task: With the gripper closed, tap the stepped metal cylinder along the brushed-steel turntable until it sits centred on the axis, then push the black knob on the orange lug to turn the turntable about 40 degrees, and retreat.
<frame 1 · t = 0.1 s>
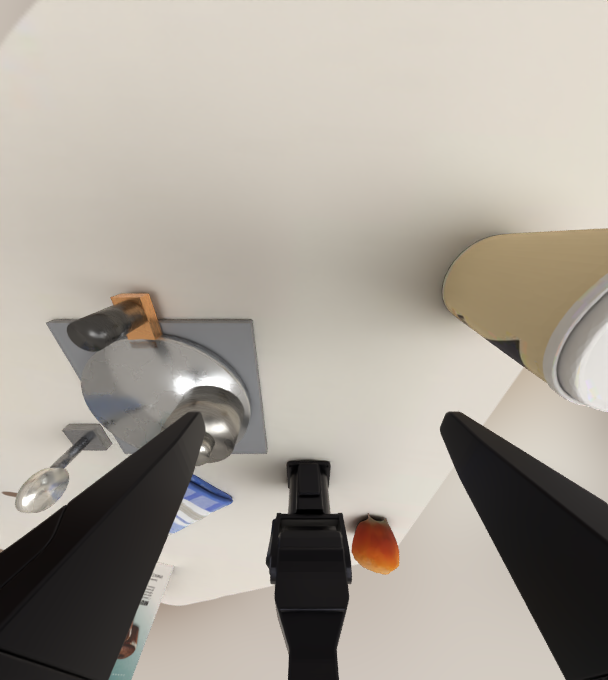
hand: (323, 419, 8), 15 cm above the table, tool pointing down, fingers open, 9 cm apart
turntable: (154, 407, 22), point 4 cm above the table, hinge at 0.0°, touching stepped metal cylinder
plinth: (179, 395, 26), on the table
dish towel: (155, 495, 38), on the table
fruit: (369, 521, 42), on the table
cake mix box: (123, 557, 49), on the table
stepped metal cylinder: (213, 409, 24), point 2 cm above the table, touching turntable
coffee cup: (482, 279, 20), on the table
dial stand: (91, 434, 30), on the table
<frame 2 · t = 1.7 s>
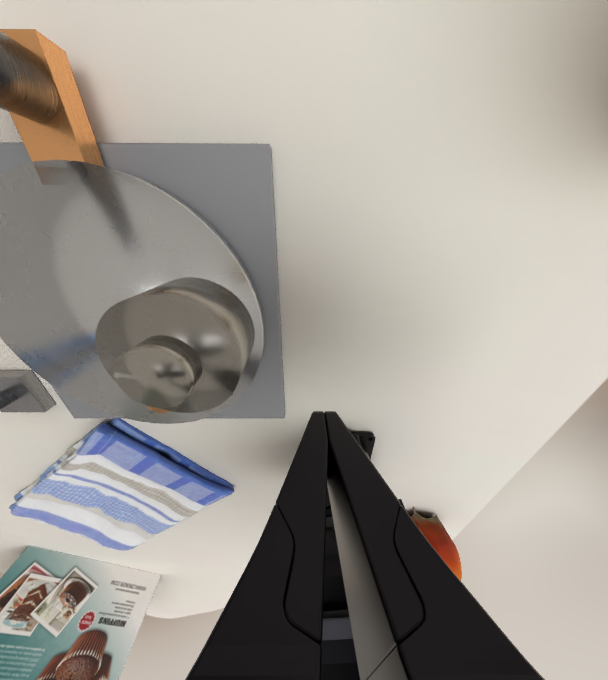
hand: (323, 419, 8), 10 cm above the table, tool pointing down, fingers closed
turntable: (94, 310, 12), point 4 cm above the table, hinge at 0.0°, touching stepped metal cylinder
plinth: (150, 317, 17), on the table
dish towel: (130, 484, 28), on the table
fruit: (412, 518, 32), on the table
cake mix box: (97, 565, 40), on the table
stepped metal cylinder: (202, 329, 15), point 2 cm above the table, touching turntable
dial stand: (22, 387, 20), on the table
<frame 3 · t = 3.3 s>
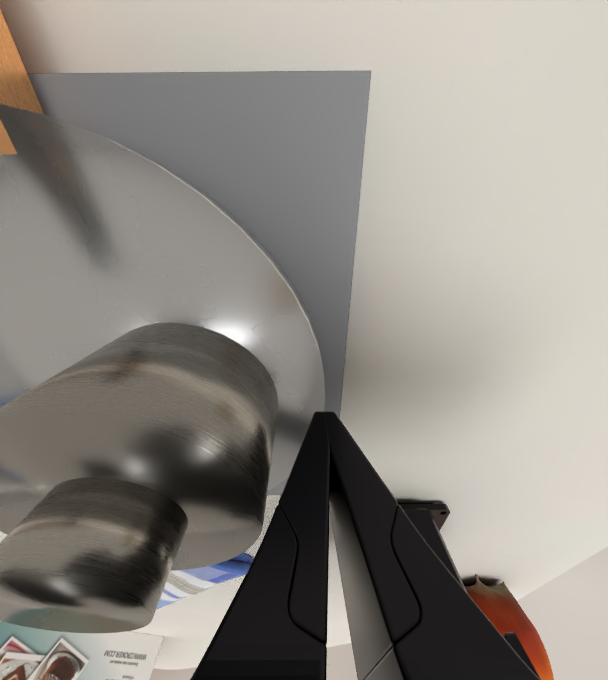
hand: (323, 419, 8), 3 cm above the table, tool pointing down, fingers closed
turntable: (35, 392, 7), point 4 cm above the table, hinge at 0.1°
plinth: (144, 370, 11), on the table
dish towel: (124, 554, 23), on the table
fruit: (470, 583, 26), on the table
cake mix box: (89, 628, 34), on the table
stepped metal cylinder: (193, 400, 9), point 2 cm above the table, touching gripper
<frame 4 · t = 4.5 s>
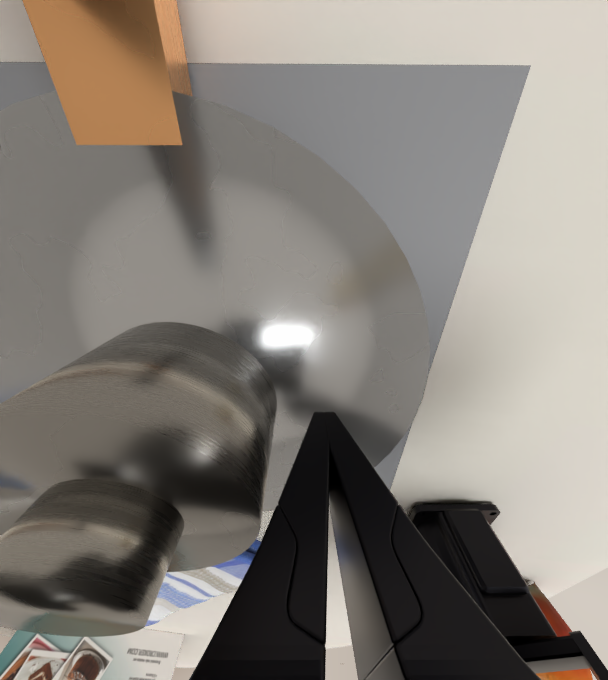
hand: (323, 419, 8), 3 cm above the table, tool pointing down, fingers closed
turntable: (165, 388, 6), point 4 cm above the table, hinge at 0.1°, touching stepped metal cylinder
plinth: (221, 367, 11), on the table
dish towel: (159, 552, 23), on the table
fruit: (500, 583, 26), on the table
cake mix box: (110, 626, 34), on the table
stepped metal cylinder: (191, 400, 9), point 2 cm above the table, touching gripper, turntable
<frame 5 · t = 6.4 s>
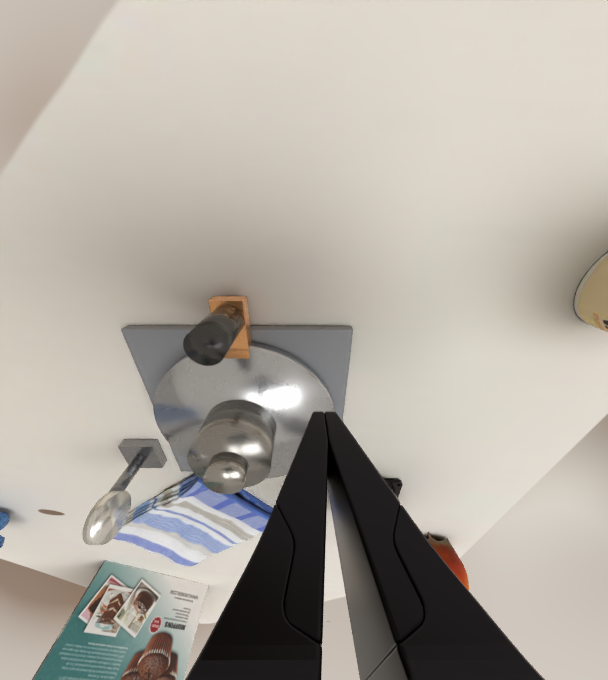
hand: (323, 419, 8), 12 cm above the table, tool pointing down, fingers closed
turntable: (239, 424, 19), point 4 cm above the table, hinge at 0.1°, touching stepped metal cylinder
plinth: (251, 408, 24), on the table
dish towel: (201, 513, 35), on the table
fruit: (427, 540, 39), on the table
cake mix box: (156, 576, 46), on the table
stepped metal cylinder: (241, 425, 22), point 2 cm above the table, touching turntable
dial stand: (146, 450, 27), on the table
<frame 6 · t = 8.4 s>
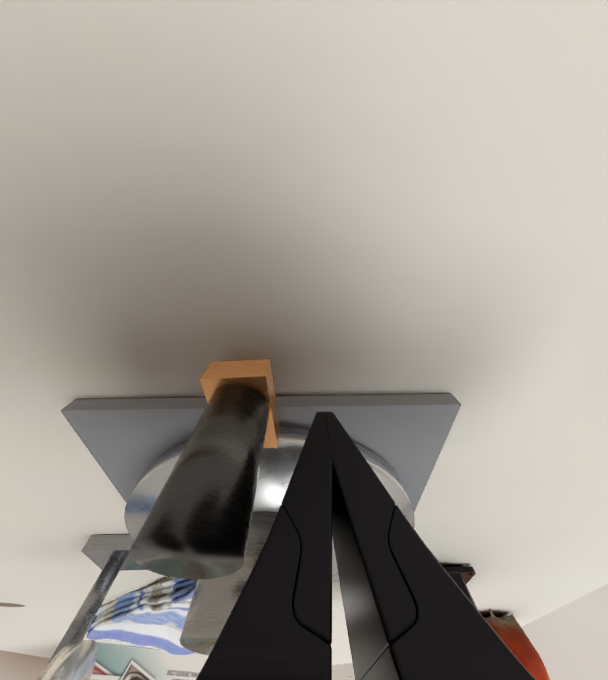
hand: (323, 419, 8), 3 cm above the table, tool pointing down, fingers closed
turntable: (265, 560, 12), point 4 cm above the table, hinge at 2.6°, touching stepped metal cylinder, gripper
plinth: (277, 499, 16), on the table
dish towel: (203, 596, 28), on the table
fruit: (484, 614, 31), on the table
cake mix box: (149, 650, 39), on the table
stepped metal cylinder: (266, 538, 14), point 2 cm above the table, touching turntable
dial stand: (124, 545, 19), on the table
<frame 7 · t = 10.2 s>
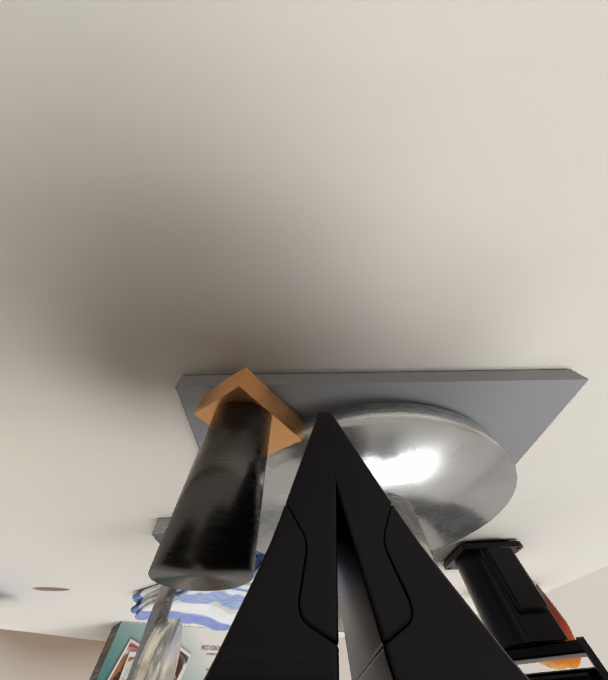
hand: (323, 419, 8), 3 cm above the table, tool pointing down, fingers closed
turntable: (358, 540, 12), point 4 cm above the table, hinge at 35.7°, touching stepped metal cylinder, gripper
plinth: (357, 479, 16), on the table
dish towel: (247, 575, 28), on the table
fruit: (509, 584, 33), on the table
cake mix box: (181, 627, 40), on the table
stepped metal cylinder: (359, 519, 14), point 2 cm above the table, touching turntable
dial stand: (189, 527, 19), on the table
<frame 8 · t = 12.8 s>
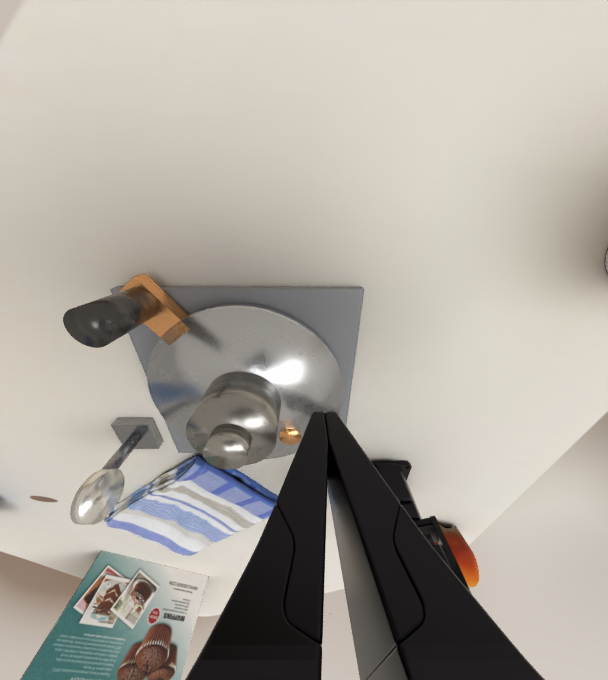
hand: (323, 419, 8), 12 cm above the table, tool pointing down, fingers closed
turntable: (227, 398, 18), point 4 cm above the table, hinge at 36.0°, touching stepped metal cylinder
plinth: (253, 383, 22), on the table
dish towel: (200, 500, 34), on the table
fruit: (434, 528, 37), on the table
cake mix box: (154, 567, 45), on the table
stepped metal cylinder: (244, 401, 20), point 2 cm above the table, touching turntable
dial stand: (141, 430, 25), on the table
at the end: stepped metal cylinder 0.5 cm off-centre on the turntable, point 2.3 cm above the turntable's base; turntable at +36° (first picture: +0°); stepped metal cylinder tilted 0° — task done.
